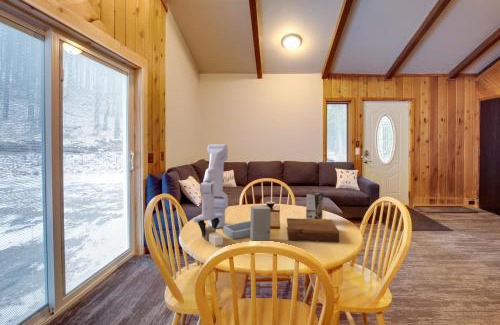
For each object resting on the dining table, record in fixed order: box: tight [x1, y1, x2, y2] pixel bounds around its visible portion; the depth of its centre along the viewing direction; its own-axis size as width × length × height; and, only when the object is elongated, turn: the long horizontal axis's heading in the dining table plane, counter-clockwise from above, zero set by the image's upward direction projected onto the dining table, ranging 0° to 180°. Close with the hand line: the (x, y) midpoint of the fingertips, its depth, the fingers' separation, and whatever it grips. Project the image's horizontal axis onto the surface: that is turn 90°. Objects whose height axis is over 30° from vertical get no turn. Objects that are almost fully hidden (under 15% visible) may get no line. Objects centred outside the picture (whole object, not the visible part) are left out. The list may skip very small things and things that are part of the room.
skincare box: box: [249, 205, 272, 242], centre depth 129 cm, size 8×7×16 cm
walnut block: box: [201, 225, 217, 241], centre depth 133 cm, size 6×4×4 cm
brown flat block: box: [286, 217, 340, 243], centre depth 137 cm, size 23×19×6 cm
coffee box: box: [305, 191, 324, 219], centre depth 158 cm, size 9×6×16 cm
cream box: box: [208, 231, 224, 247], centre depth 126 cm, size 6×4×4 cm, turn 34°
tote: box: [222, 220, 251, 240], centre depth 140 cm, size 11×18×3 cm, turn 123°
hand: (208, 234), depth 133 cm, fingers closed on walnut block, 4 cm apart
